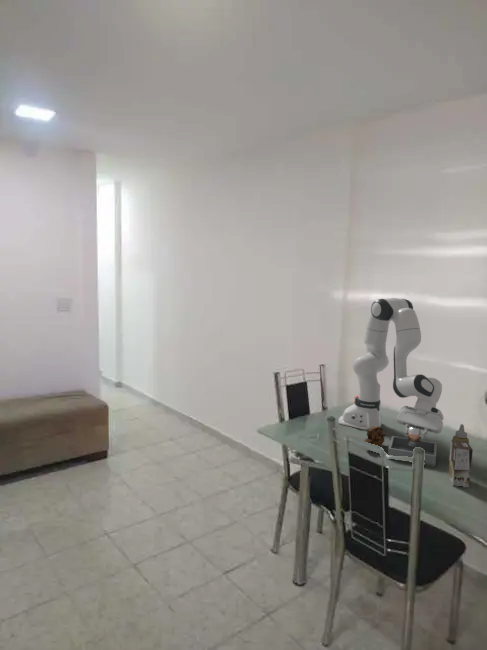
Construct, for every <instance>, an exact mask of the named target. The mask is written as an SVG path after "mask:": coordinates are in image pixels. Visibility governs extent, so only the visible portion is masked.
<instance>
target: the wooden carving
mask: <svg viewBox="0 0 487 650" xmlns="http://www.w3.org/2000/svg"><path fill="white" fill-rule="evenodd" d="M366 431H367V432H366V436H367V438H365V439H364V440H363V442H364V441H365V442H368V443H371V444H375V445H378V446H380V447H381V446H382V445H383V444H384V442H385V438H384V437H386V435H387V434H386V433H385V432H384V429H383V427H382V426H380V427H379V426H378V427H376V426H373V427H371V428H370V429H368V430H366Z"/></svg>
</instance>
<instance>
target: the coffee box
mask: <svg viewBox="0 0 487 650" xmlns="http://www.w3.org/2000/svg"><path fill="white" fill-rule="evenodd" d="M473 451H474V449H473V448H472V446H471V445H470V443H469V444H468V442H467V441H454V440H452V439H451V440H450V449H449V454H450V455H449V458H448V472H447V474H448V475H447V476H449V477H448V479H449V478H450V479H449V480H451V481H450V482H452V483H451V485H452V484H453V485H458V486H463V487H462V488H466V487H470V483H471V482H470V480H471V470H472V461H473ZM453 485H452V486H453ZM458 486H457V487H458Z"/></svg>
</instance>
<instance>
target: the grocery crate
mask: <svg viewBox="0 0 487 650" xmlns="http://www.w3.org/2000/svg"><path fill="white" fill-rule="evenodd" d="M437 444H438V442H434V441H427V440H423V439H422V440H421V439H420V445H419V447H421V448H423V449H424V450H425V460H424V463H425V465H429V466H428V467H431V466H434V467H433V468H436V463H437V462H436V461H437V448H438V445H437ZM414 448H415V447H412V446H409V445H408V437H403V436H396V435H391V438H390V441H389V444H388V451H387V455H388V454H389V455H393V456H408V457H412V456H413V449H414ZM397 461H398V462H405V463H410V464H413V463H412V462H409V461H401V460H397ZM425 465H424V466H425Z"/></svg>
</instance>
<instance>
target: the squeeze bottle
mask: <svg viewBox="0 0 487 650" xmlns="http://www.w3.org/2000/svg"><path fill="white" fill-rule="evenodd" d="M464 426H465V425H464V424H462V423H461V424H460V426H459V429H458V430H456V431H455V435H453V436H452V439H451V440H454V441H467V442H468V444H469V445H470V440H469V438H468V433H467V432H466V430H465V427H464ZM449 456H450V453H449Z"/></svg>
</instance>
